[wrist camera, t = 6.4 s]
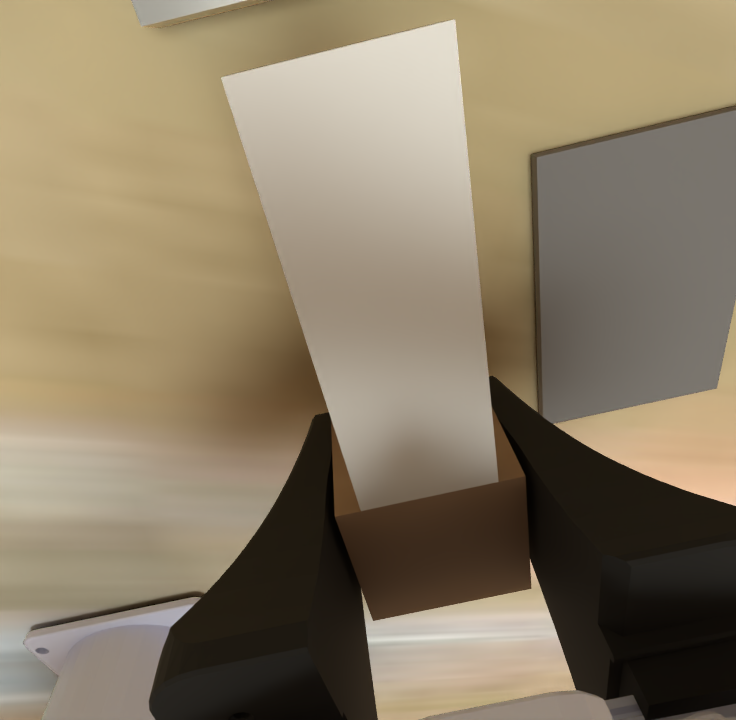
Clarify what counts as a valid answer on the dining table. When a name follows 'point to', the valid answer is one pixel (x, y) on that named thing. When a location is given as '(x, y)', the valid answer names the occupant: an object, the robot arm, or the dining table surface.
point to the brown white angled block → (391, 310)
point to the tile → (184, 10)
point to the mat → (634, 265)
